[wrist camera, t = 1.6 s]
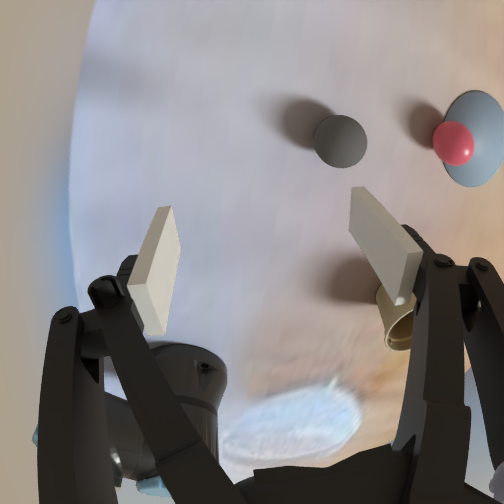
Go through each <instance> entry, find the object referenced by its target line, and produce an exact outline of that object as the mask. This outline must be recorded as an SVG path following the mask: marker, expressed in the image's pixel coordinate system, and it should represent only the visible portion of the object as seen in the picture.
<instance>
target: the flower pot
mask: <svg viewBox="0 0 504 504" xmlns="http://www.w3.org/2000/svg"><path fill="white" fill-rule="evenodd" d="M416 300H417V298H416V297H415V295H414V294H413V293H412V296H411V299H410V303H406V304H401V305H396V306H395V305H394V303H393V302H392V300H391V298H390V296H389V295H388V293H387V291H386V289H385V288H384V286H383V284H382V285H381V286H380V287H379V289H378V290H377V293H376V302H377V305H378V308H379V311H380V314H381V318H382V321H383V324H384V328H385V338H384V342H385V345H386V347H387V348H388V349H389V350H390V351H393V352H405V351H408V350H411V342H412V332H413V320H414V317H413V319H412V318H411V315H412V312H413V309H414V306H415V303H416Z"/></svg>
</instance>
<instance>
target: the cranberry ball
mask: <svg viewBox="0 0 504 504" xmlns="http://www.w3.org/2000/svg"><path fill="white" fill-rule="evenodd" d="M433 147H434V150H435V153H436V154H437V156H438V157H439V158H440V159H441V160H442V161H443V162H445V163H446V164H448V165H452V166H460V165H463V164H465V163H467V162H468V161H469V160H470V159H471V157H472V155H473V153H474V147H475V146H474V139H473V136H472V134H471V132H470V131H469V130H468V128H467V127H466V126H464V125H463V124H461V123H459V122H456V121H446V122H443V123H441V124H440V125H439V126H438V127H437V128H436V130H435V132H434V134H433Z"/></svg>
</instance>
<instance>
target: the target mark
mask: <svg viewBox="0 0 504 504" xmlns="http://www.w3.org/2000/svg"><path fill="white" fill-rule="evenodd" d="M446 121H456V122H459V123H461V124H463V125H464V126H466V127H467V128H468V130H469V131H470V132H471V134H472V136H473V139H474V146H475V147H474V153H473V155H472V157H471V159H470V160H469V161H468V162H467V163H465V164H463V165H460V166H452V165H448V164H446V163H445V162H444V165H445V168H446V170H447V171H448V173H449V175H450V176H451V177H452V178H453V179H454V180H455V181H456V182H457V183H459V184H460V185H463V186H466V187H477V186H480V185H482V184H484V183H486V182H487V181H489V180H490V179H491V178H492V177H493V176H494V175H495V174H496V172H497V171H498V169H499V168H500V166H501V164H502V162H503V160H504V112H503V110H502V108H501V106H500V105H499V103H498V102H497V101H496V100H495V99H494V98H493V97H492V96H490V95H489V94H487V93H484V92H480V91H472V92H468V93H466V94H464V95H462V96H461V97H459V98H458V99H457V100H456V101H455V102H454V104H453V105H452V106H451V108H450V110H449V111H448V113H447V116H446V118H445V121H444V122H446Z"/></svg>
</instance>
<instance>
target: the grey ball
mask: <svg viewBox="0 0 504 504" xmlns="http://www.w3.org/2000/svg"><path fill="white" fill-rule="evenodd" d="M314 147H315V150H316V152H317V154H318V156H319V157H320V158H321V159H322V160H323V161H324V162H325V163H327V164H328V165H330V166H333V167H336V168H347V167H351V166H353V165H355V164H357V163H358V162H359V161H360V160H361V159H362V158H363V156H364V154H365V152H366V149H367V137H366V133H365V131H364V129H363V128H362V126H361V125H360V124H359V123H358V122H357V121H355V120H354V119H352V118H350V117H348V116H343V115H335V116H331V117H328V118H326V119H325V120H323V121H322V122H321V123H320V124H319V125H318V127H317V129H316V131H315V134H314Z"/></svg>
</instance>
